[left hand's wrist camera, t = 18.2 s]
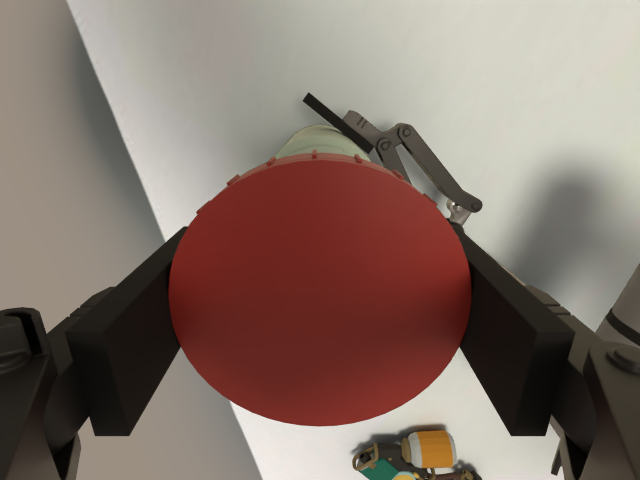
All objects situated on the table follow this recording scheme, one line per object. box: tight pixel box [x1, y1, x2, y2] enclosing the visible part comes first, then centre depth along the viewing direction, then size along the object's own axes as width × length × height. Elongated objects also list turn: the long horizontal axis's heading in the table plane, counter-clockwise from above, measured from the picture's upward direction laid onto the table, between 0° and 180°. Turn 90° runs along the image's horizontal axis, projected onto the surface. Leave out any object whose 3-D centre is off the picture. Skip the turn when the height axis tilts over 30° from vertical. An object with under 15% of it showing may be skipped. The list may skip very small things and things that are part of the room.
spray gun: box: [352, 430, 482, 480], centre depth 50 cm, size 4×17×15 cm
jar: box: [274, 125, 371, 162], centre depth 29 cm, size 8×8×15 cm
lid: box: [168, 150, 472, 426], centre depth 11 cm, size 9×9×2 cm
